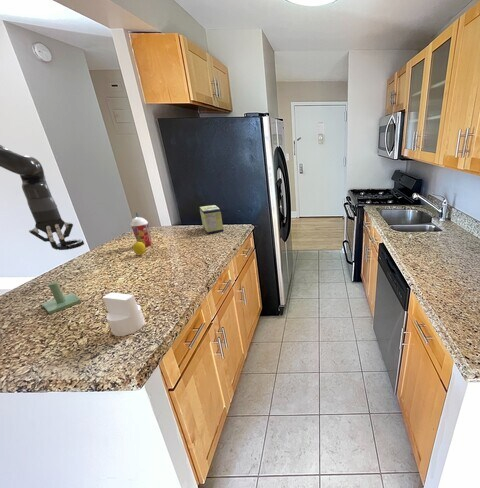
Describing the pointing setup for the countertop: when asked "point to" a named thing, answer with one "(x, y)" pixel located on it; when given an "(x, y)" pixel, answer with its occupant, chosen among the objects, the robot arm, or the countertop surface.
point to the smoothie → (141, 230)
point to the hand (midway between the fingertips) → (60, 248)
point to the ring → (70, 244)
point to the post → (59, 299)
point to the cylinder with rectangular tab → (123, 314)
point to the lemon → (139, 248)
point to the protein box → (211, 219)
